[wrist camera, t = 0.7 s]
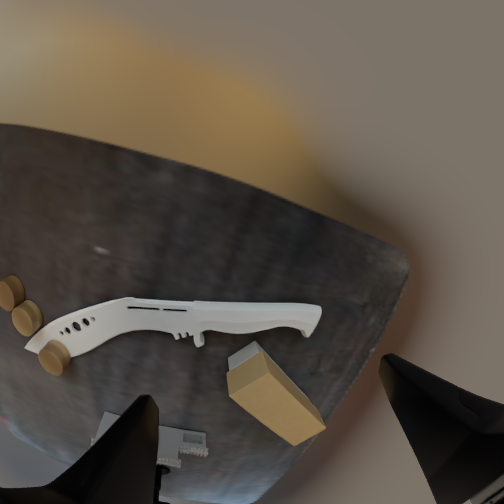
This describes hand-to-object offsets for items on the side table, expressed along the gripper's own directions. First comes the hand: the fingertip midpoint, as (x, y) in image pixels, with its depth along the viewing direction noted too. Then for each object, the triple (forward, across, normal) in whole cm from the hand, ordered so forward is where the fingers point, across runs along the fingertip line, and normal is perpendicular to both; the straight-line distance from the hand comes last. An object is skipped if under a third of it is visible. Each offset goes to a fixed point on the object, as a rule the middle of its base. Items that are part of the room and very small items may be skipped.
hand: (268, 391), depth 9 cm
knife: (+12, +10, +5) cm, 16 cm away
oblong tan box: (+12, 0, +12) cm, 17 cm away
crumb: (+11, +23, -2) cm, 26 cm away
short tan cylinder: (+11, +22, +1) cm, 24 cm away
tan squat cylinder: (+10, +20, +5) cm, 23 cm away
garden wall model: (+10, +13, +16) cm, 23 cm away
